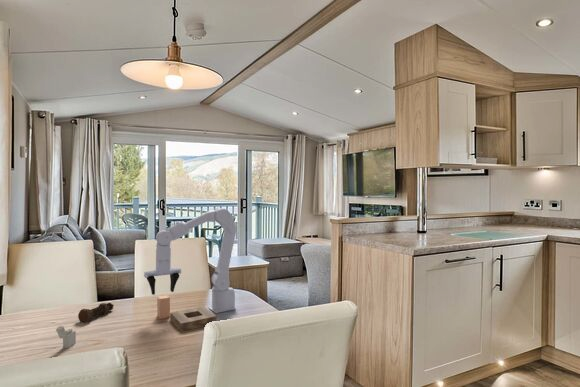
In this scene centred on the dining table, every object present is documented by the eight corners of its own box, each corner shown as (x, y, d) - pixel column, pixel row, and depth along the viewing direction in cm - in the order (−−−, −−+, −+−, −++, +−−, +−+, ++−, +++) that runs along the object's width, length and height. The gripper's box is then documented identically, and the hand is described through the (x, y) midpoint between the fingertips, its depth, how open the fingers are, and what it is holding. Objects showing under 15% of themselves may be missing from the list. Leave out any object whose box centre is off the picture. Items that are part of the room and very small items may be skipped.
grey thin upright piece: (71, 342, 127) (71, 319, 127) (76, 342, 127) (75, 319, 127) (56, 351, 120) (55, 327, 120) (60, 352, 120) (60, 327, 120)
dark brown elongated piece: (112, 314, 160) (84, 326, 145) (104, 308, 161) (75, 318, 147) (118, 303, 159) (90, 314, 145) (109, 297, 160) (81, 306, 146)
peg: (167, 314, 156) (167, 295, 155) (169, 316, 152) (169, 297, 152) (157, 315, 153) (157, 296, 153) (159, 318, 150) (159, 299, 150)
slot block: (203, 313, 156) (203, 306, 156) (216, 323, 145) (216, 316, 144) (170, 320, 148) (170, 312, 148) (181, 331, 137) (181, 323, 137)
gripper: (177, 256, 160) (176, 288, 160) (142, 259, 151) (141, 293, 151) (183, 259, 154) (182, 291, 154) (147, 262, 145) (146, 297, 146)
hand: (162, 292), depth 152 cm, fingers open, 7 cm apart
